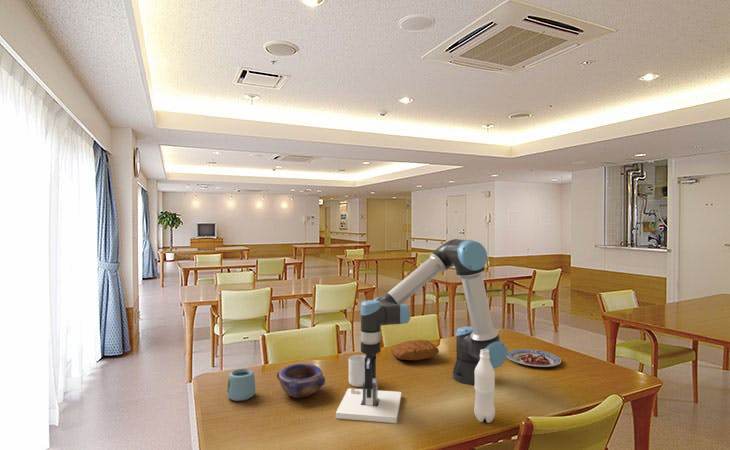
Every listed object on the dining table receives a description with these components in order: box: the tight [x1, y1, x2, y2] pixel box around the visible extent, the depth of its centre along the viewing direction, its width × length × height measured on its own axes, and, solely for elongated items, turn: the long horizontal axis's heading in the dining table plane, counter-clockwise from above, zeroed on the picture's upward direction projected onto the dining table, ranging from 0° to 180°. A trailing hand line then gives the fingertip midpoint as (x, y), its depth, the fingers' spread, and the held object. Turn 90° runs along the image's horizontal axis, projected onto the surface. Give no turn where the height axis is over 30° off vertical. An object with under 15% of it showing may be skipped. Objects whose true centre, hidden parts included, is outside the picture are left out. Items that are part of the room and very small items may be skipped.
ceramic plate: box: [507, 348, 562, 368], centre depth 210 cm, size 26×26×3 cm
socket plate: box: [335, 388, 402, 424], centre depth 158 cm, size 22×22×3 cm
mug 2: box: [348, 354, 366, 388], centre depth 182 cm, size 12×9×11 cm
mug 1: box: [226, 368, 257, 402], centre depth 169 cm, size 15×11×10 cm
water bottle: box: [473, 349, 496, 424], centre depth 148 cm, size 7×7×25 cm
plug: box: [362, 377, 379, 406], centre depth 158 cm, size 5×5×9 cm
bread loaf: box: [390, 339, 440, 361], centre depth 213 cm, size 22×17×8 cm
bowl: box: [276, 362, 326, 399], centre depth 170 cm, size 18×18×10 cm
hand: (370, 401), depth 158 cm, fingers closed on plug, 5 cm apart
